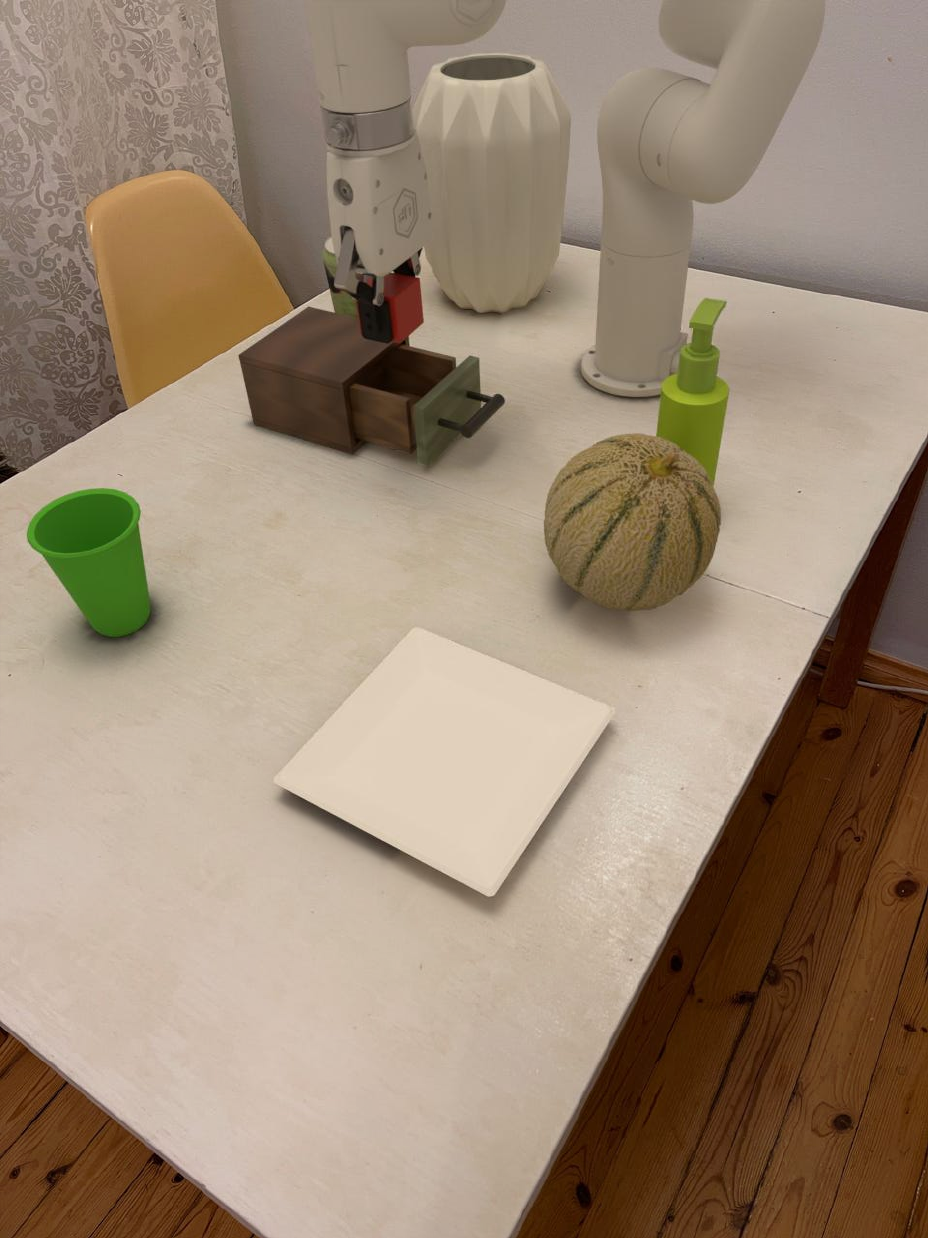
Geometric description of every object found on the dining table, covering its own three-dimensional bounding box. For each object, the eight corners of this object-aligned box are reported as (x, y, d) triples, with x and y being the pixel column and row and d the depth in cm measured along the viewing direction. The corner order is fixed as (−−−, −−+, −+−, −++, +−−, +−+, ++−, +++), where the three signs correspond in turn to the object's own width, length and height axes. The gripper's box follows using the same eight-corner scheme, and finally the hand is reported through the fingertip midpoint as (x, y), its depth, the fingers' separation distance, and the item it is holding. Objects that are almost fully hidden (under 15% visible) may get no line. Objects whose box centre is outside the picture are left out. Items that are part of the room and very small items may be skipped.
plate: (492, 913, 64) (491, 896, 62) (275, 796, 71) (270, 779, 70) (615, 724, 75) (617, 706, 73) (416, 640, 82) (414, 623, 81)
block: (424, 322, 93) (419, 277, 90) (399, 343, 91) (394, 298, 88) (385, 314, 95) (379, 270, 92) (360, 334, 92) (353, 289, 89)
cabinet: (414, 399, 111) (408, 329, 105) (352, 454, 104) (342, 382, 98) (319, 373, 117) (308, 306, 111) (253, 424, 109) (237, 354, 103)
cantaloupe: (554, 529, 93) (557, 390, 82) (710, 543, 90) (734, 402, 80) (530, 635, 82) (530, 492, 72) (706, 655, 80) (732, 509, 69)
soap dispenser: (719, 490, 96) (751, 298, 82) (700, 530, 92) (731, 334, 78) (661, 478, 98) (683, 288, 84) (641, 516, 94) (661, 323, 80)
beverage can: (387, 315, 127) (377, 223, 119) (378, 342, 122) (367, 248, 113) (340, 315, 128) (327, 224, 119) (329, 342, 122) (315, 248, 114)
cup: (192, 594, 88) (160, 496, 80) (137, 663, 82) (97, 564, 74) (108, 576, 90) (70, 480, 83) (49, 642, 84) (2, 544, 77)
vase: (518, 340, 120) (517, 99, 102) (392, 307, 129) (369, 78, 110) (591, 280, 132) (602, 54, 113) (471, 253, 140) (463, 38, 121)
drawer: (515, 422, 105) (514, 365, 100) (463, 476, 98) (459, 418, 93) (387, 388, 112) (381, 333, 107) (329, 437, 105) (320, 380, 100)
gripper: (349, 163, 74) (378, 377, 86) (457, 97, 84) (468, 296, 97) (271, 152, 76) (310, 360, 89) (384, 89, 87) (404, 284, 99)
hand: (392, 325), depth 93 cm, fingers closed on block, 4 cm apart
